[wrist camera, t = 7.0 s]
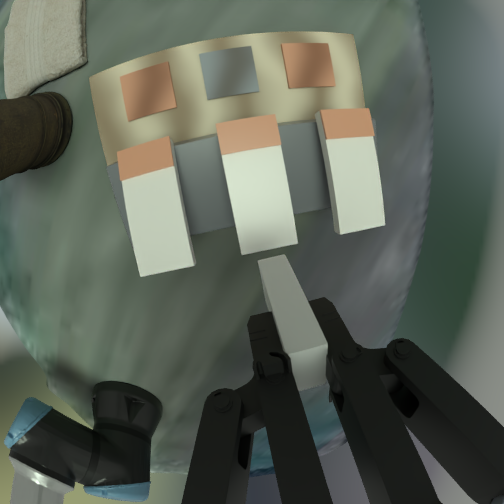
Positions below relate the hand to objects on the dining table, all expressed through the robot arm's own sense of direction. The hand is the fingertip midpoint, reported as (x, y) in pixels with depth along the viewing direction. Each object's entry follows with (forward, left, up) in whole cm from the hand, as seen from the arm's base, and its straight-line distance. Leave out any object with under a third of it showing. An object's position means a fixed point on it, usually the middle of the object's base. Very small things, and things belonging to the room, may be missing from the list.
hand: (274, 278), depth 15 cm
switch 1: (-7, +3, -9) cm, 12 cm away
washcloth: (-19, +28, -17) cm, 38 cm away
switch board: (+1, +7, -16) cm, 18 cm away
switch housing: (+1, +3, -15) cm, 15 cm away
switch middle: (+1, +3, -9) cm, 10 cm away
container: (-21, +14, -17) cm, 31 cm away
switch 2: (+9, +3, -9) cm, 13 cm away
